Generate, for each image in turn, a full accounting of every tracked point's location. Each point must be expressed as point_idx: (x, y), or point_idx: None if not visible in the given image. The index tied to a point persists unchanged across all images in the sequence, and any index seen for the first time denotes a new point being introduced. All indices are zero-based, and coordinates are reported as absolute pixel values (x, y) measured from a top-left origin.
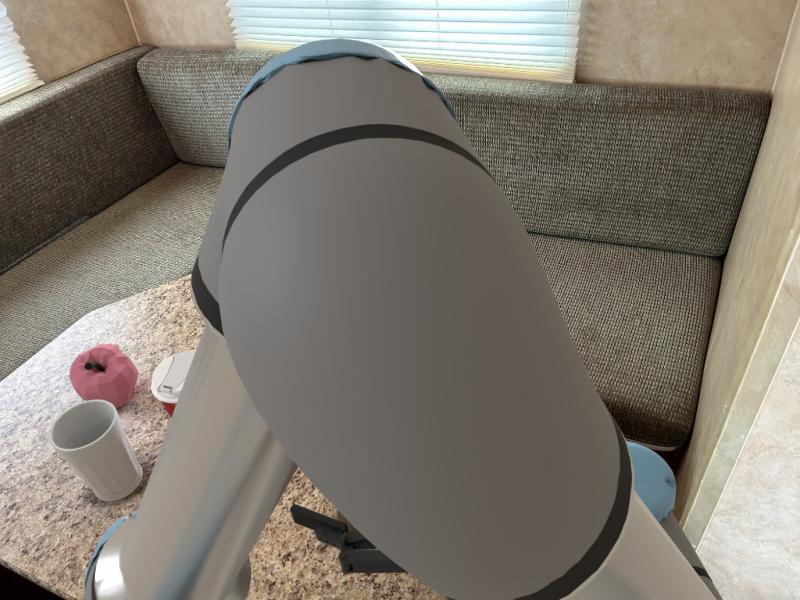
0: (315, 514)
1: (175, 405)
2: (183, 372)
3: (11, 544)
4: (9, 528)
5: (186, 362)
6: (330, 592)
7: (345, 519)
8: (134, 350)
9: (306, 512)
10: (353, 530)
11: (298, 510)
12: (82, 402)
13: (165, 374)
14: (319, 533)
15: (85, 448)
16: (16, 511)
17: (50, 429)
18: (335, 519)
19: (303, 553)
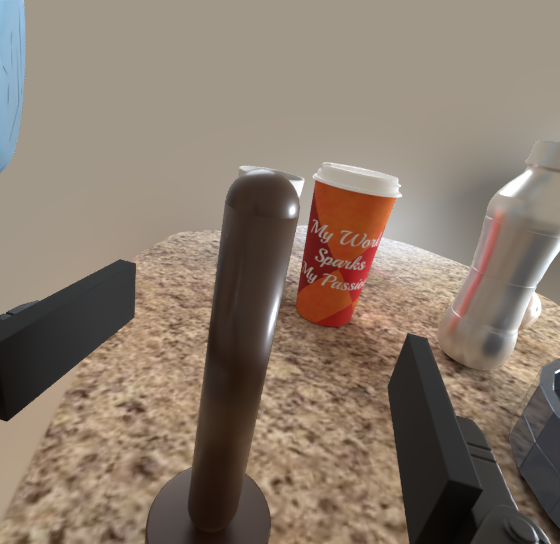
0: (82, 287)
1: (315, 188)
2: (358, 170)
3: (190, 232)
4: (204, 231)
5: (375, 173)
6: (11, 505)
7: (188, 485)
8: (398, 261)
9: (98, 277)
10: (150, 513)
11: (110, 267)
12: (297, 175)
13: (346, 166)
14: (19, 308)
15: (244, 172)
16: (220, 232)
17: (261, 167)
18: (37, 320)
19: (136, 433)
